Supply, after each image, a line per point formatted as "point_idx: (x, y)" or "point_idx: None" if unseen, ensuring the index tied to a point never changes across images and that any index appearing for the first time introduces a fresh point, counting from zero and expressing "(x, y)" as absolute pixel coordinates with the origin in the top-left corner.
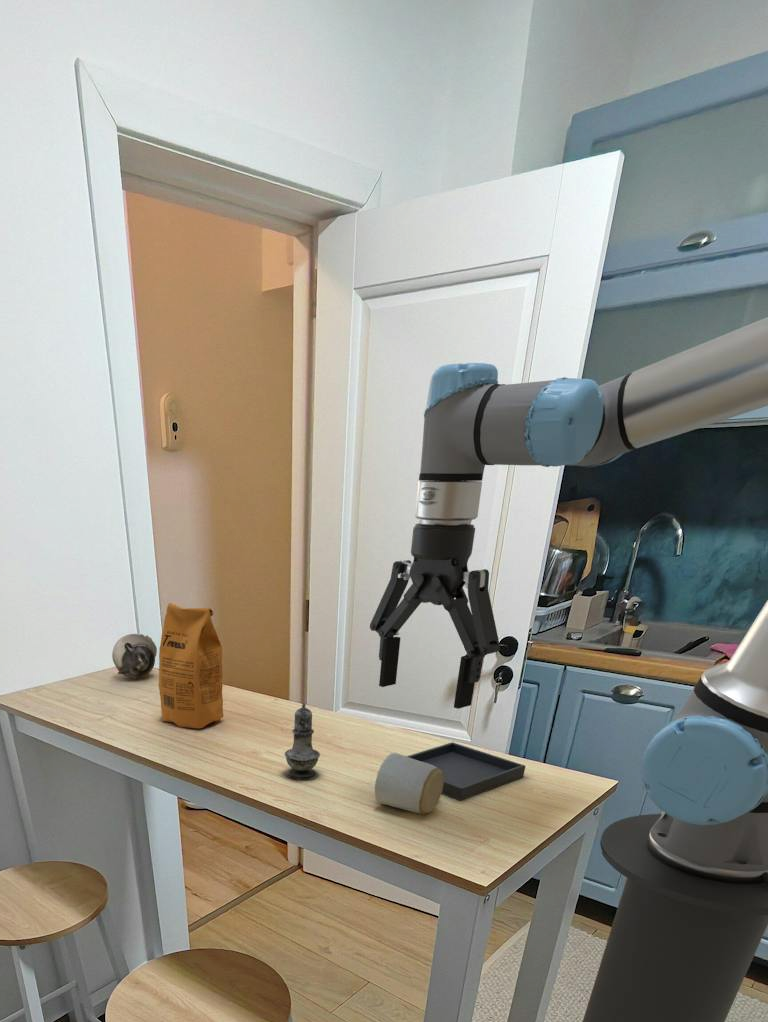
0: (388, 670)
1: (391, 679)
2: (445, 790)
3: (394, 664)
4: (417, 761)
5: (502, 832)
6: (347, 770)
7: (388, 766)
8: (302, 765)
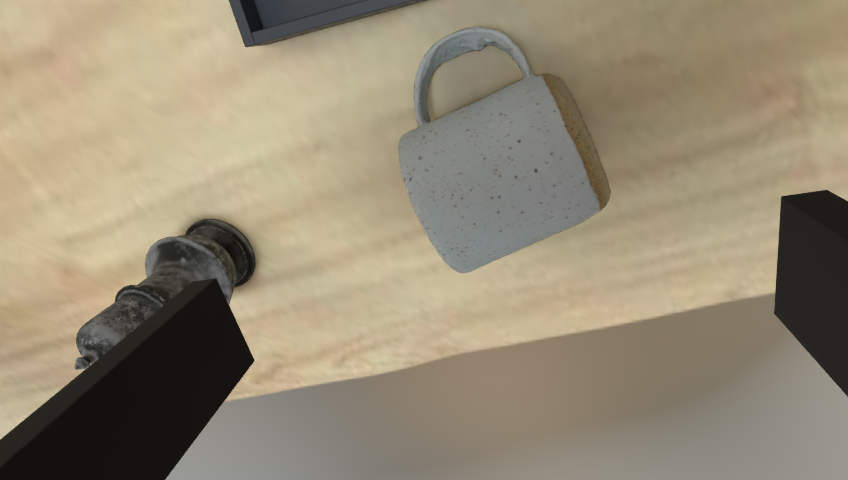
0: (193, 391)
1: (215, 329)
2: None
3: (152, 373)
4: (511, 185)
5: (802, 4)
6: (217, 140)
7: (475, 261)
8: (233, 289)
